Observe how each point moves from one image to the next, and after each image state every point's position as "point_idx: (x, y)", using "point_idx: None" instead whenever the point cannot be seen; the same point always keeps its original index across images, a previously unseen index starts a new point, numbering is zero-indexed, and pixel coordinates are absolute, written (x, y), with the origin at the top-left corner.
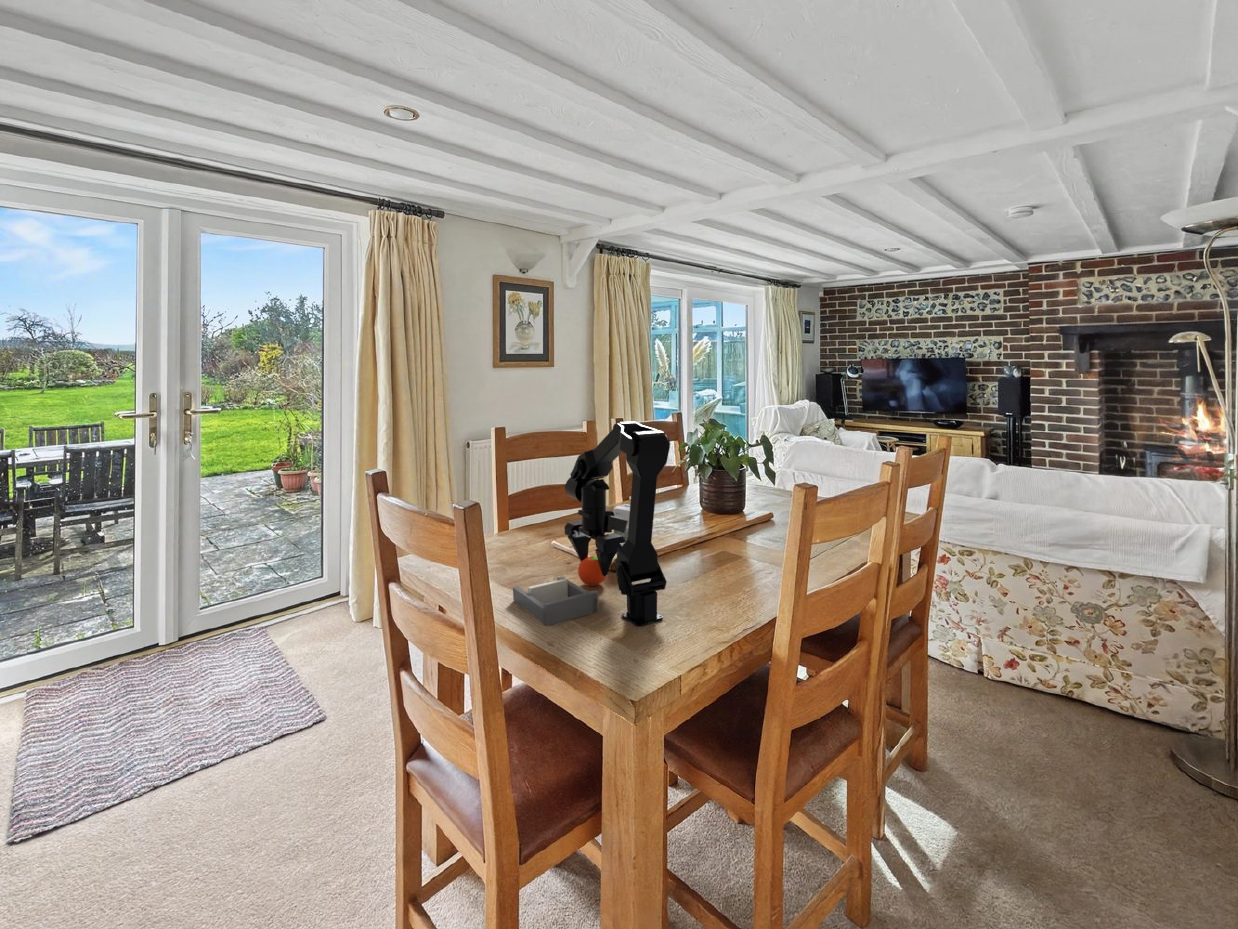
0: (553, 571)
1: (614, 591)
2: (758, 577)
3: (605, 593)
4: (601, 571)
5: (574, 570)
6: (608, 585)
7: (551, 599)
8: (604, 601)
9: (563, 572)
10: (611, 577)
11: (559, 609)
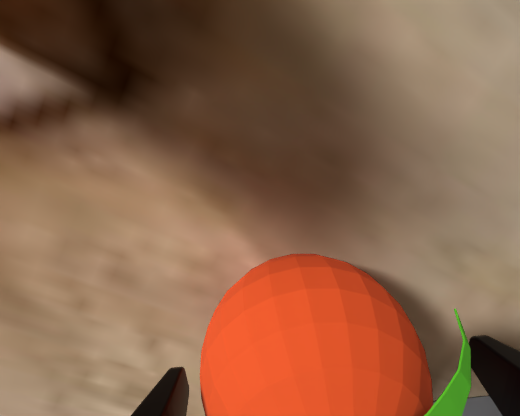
0: (16, 380)
1: (439, 241)
2: None
3: (430, 289)
4: (501, 407)
5: (29, 292)
6: (345, 230)
7: None
8: (505, 329)
9: (47, 348)
10: (235, 154)
11: None
